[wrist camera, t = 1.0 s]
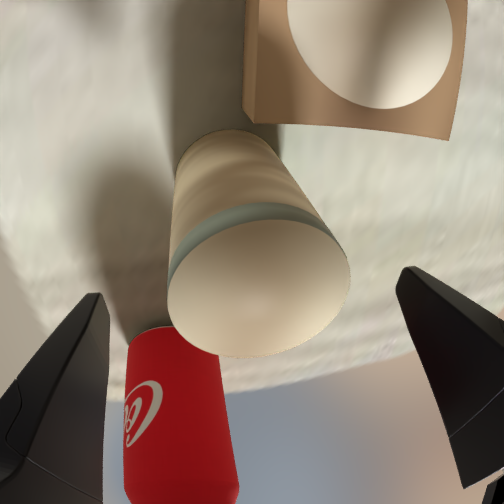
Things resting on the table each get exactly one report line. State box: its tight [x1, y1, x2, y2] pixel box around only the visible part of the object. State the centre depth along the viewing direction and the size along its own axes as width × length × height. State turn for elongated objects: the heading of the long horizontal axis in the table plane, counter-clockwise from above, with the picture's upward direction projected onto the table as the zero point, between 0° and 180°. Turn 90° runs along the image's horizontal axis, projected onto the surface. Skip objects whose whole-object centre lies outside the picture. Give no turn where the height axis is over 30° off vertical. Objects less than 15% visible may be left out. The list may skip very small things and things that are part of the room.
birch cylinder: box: [167, 129, 351, 358], centre depth 12 cm, size 5×5×8 cm
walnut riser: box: [242, 0, 468, 141], centre depth 10 cm, size 9×9×3 cm
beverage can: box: [123, 326, 239, 504], centre depth 17 cm, size 6×6×12 cm
